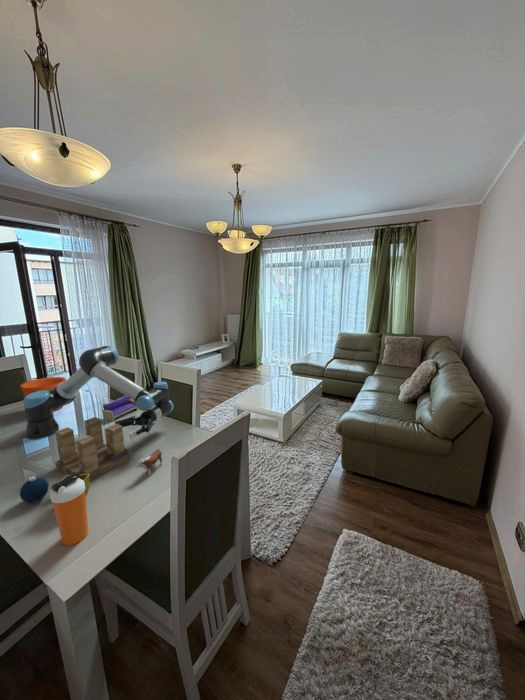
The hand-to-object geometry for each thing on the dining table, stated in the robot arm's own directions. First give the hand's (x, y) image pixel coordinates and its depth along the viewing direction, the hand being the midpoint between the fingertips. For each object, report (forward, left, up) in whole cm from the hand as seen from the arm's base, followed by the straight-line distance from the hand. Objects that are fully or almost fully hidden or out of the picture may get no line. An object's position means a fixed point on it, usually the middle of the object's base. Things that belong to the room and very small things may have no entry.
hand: (118, 434), depth 130 cm
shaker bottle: (+27, -35, -13) cm, 46 cm away
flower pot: (+11, -27, -13) cm, 32 cm away
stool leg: (0, -2, -9) cm, 10 cm away
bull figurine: (+20, 0, -13) cm, 24 cm away
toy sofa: (-48, +33, -13) cm, 59 cm away
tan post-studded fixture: (-8, -9, -13) cm, 17 cm away
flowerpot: (-102, +14, -13) cm, 104 cm away
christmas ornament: (-4, -33, -13) cm, 35 cm away
